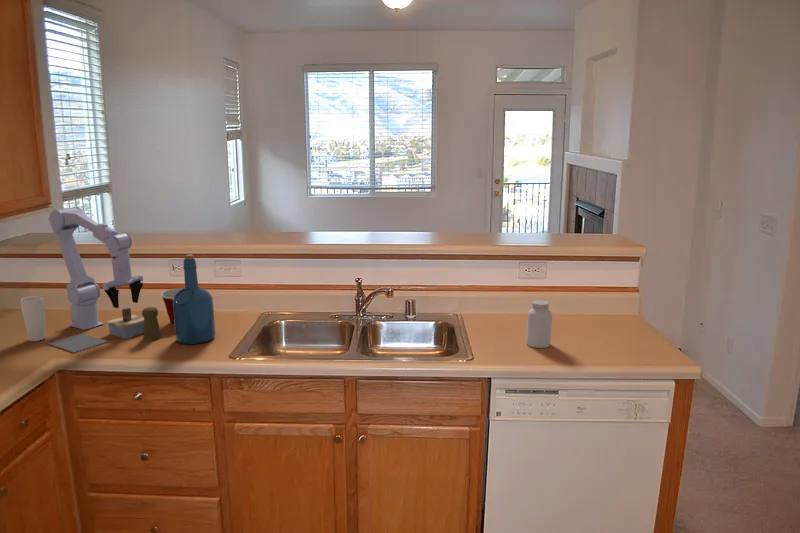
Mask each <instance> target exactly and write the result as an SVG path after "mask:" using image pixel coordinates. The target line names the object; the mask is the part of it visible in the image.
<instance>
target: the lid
mask: <svg viewBox="0 0 800 533" xmlns="http://www.w3.org/2000/svg"><path fill="white" fill-rule="evenodd" d="M121 311H122V312H121V313H122V316H120V317H118V318H113V319H110V320H107V321H106V322H105V324H106V325H109V324H110V325H113V326H117V327H121V328H126V327H130V326H133V325H136V324H139V323H143V322H144V317H143V316H140V315H137V314H132V309H131V308H129V307H126V308H122V309H121Z"/></svg>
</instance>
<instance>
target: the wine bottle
mask: <svg viewBox="0 0 800 533" xmlns="http://www.w3.org/2000/svg"><path fill="white" fill-rule="evenodd" d="M196 261H197V260H196V258H194V254H191V253H190V254H186V255H184V258H183V265H182V266H183V268H182V269H183V272H184V273H183V276H184V287H183V288H181V289H182V290H180V291H179V292H178V293H177V294H176V295H175V296H174V298H173V312H174V323H175V325H174V331H175V332H174V333H175V339H176V341H177V343H180V344H184V345H197V344H203V343H206V342H209V341H211V340H213V339H214V338H215V336H216V324H215V313H214V312H215V310H214V299H213V297H212V295H211V293H210V292H209V291H208V290H207V289H205V288H202V287H200V286H199V281H198V279H199V278H198V271H197V269H198V266H197V262H196Z"/></svg>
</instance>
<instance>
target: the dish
mask: <svg viewBox="0 0 800 533" xmlns="http://www.w3.org/2000/svg"><path fill="white" fill-rule="evenodd" d="M108 331H109V335H112V336H115V337H119V338H122V339H128V338H132V337H134V336H137V335H141V334H144V322H143V323H139V324H136V325H133V326H130V327H126V328H121V327H117V326H113V325H110V324H108Z"/></svg>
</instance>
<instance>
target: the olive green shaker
mask: <svg viewBox="0 0 800 533" xmlns="http://www.w3.org/2000/svg"><path fill="white" fill-rule="evenodd" d="M141 315H142V316H141V317H144V333H142V335H143V336H142V339H143V341H145V342H146V341H148V342H149V341H150V342H151V341H158V340H160V339H161V338H162V333H161V328H160V324H159V320H158V315H159V310H158V308H157V307H155V306H149V307H145V308H142V311H141Z"/></svg>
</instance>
